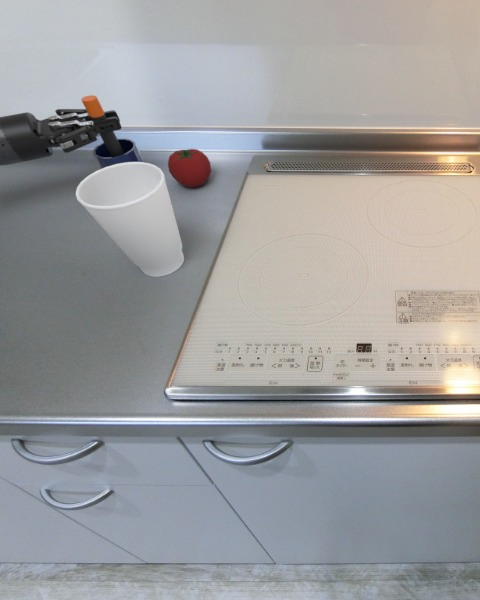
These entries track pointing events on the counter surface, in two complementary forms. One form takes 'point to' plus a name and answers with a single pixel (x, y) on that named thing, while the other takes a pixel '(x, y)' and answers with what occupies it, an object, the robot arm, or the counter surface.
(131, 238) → the cup
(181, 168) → the tomato
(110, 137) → the marker
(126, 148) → the pen pot
